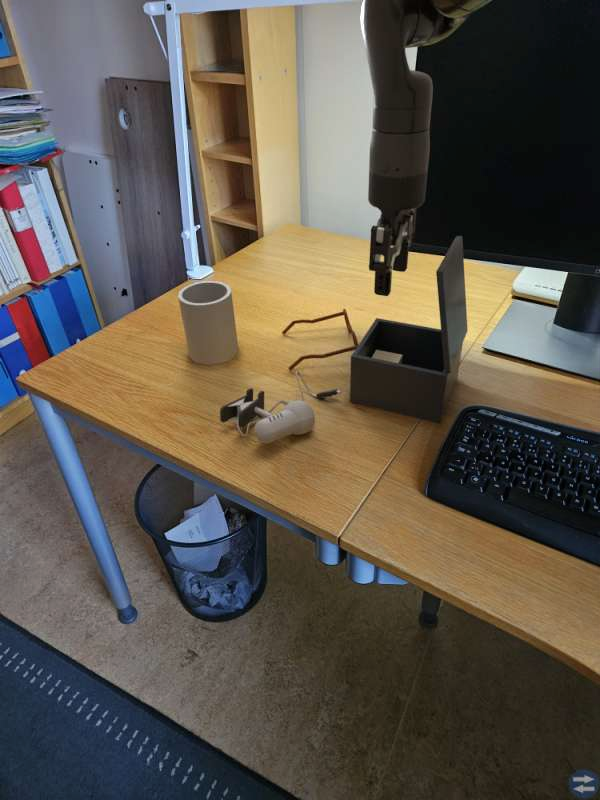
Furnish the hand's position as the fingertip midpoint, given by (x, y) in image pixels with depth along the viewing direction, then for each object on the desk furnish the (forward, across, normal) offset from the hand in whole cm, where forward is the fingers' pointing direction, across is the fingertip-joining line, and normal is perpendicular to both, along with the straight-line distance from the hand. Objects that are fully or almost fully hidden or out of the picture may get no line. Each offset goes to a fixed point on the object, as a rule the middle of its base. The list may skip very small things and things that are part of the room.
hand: (391, 281), depth 82 cm
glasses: (+19, +7, +15) cm, 25 cm away
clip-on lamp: (+19, -14, +12) cm, 26 cm away
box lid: (+2, 0, -9) cm, 9 cm away
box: (+19, 0, -3) cm, 19 cm away
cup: (+19, -1, +33) cm, 38 cm away
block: (+18, 0, 0) cm, 18 cm away
